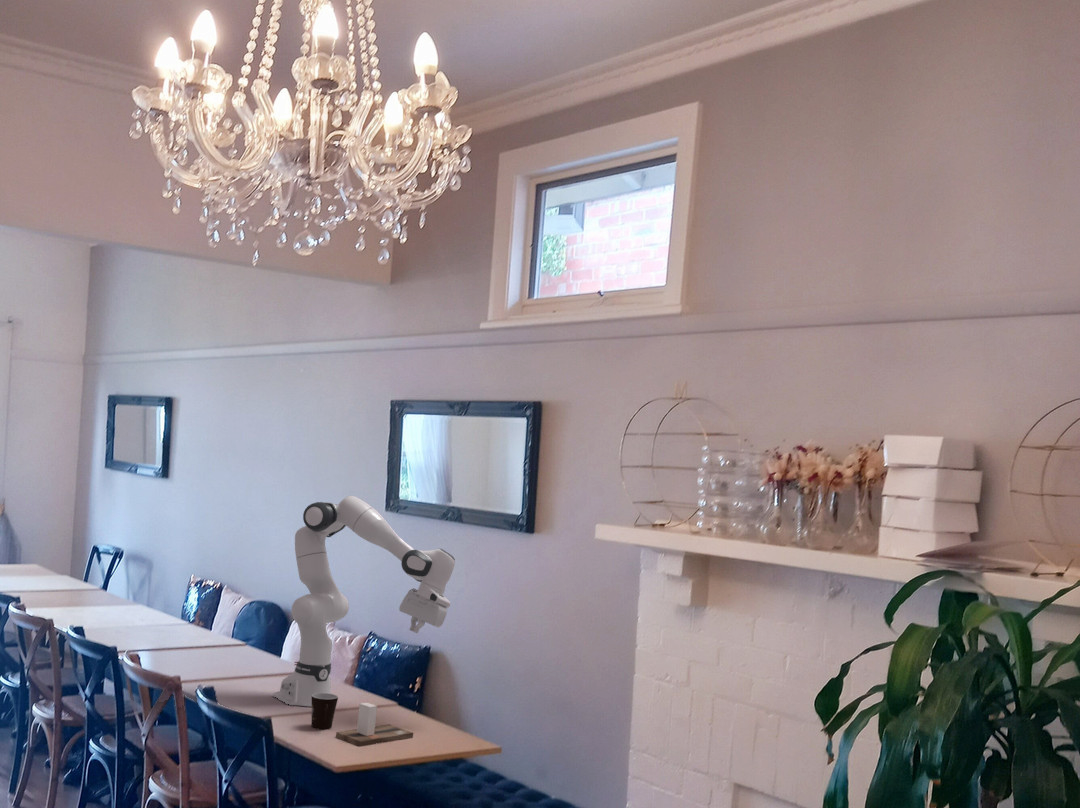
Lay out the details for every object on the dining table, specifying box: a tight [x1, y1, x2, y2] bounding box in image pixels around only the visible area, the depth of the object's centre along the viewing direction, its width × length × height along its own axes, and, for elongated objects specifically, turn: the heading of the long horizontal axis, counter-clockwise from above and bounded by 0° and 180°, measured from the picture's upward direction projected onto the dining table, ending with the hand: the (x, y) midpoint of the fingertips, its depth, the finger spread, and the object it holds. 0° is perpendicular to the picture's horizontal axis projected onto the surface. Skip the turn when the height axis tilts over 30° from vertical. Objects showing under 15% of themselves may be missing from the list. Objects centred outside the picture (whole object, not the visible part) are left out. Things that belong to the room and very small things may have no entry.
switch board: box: [335, 723, 414, 747], centre depth 325 cm, size 12×22×2 cm, turn 139°
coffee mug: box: [311, 693, 339, 731], centre depth 330 cm, size 12×9×10 cm
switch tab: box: [356, 702, 378, 736], centre depth 322 cm, size 5×3×9 cm, turn 49°
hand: (413, 631), depth 353 cm, fingers closed
